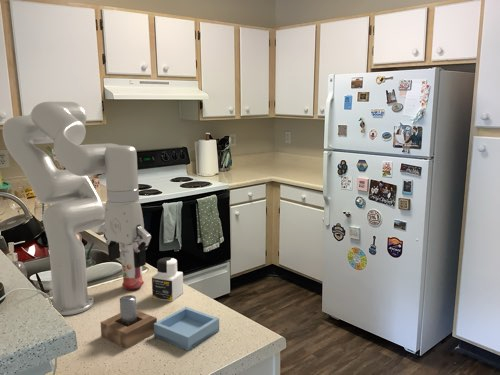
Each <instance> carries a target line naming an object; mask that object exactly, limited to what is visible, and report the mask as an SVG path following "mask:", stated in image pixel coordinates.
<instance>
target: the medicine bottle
mask: <svg viewBox="0 0 500 375" xmlns="http://www.w3.org/2000/svg"><path fill="white" fill-rule="evenodd" d="M156 262H157V263H156V265H157V266H156V267H157V273H156V274H154V275H153V276H151V287H152V288H151V289H152V290H151V291H152V294H151V295H152V299H155V300H161V301H166V302H174V301H175V300H176V299H177V298H178V297H180V296H181V295H183V293H184V273H183V271H178V260H177V259H176V258H174V257H163V258H159V259H158V260H157V261H156Z"/></svg>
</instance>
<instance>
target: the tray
mask: <svg viewBox="0 0 500 375" xmlns="http://www.w3.org/2000/svg"><path fill="white" fill-rule="evenodd" d="M218 332H220V318H218V317H216V316H214V315H210V314H208V313H205V312H203V311H202V312H201V311H199V310H196V309H193V308H190V307H187V306H184V307H182V308H181V309H179V310H177V311H175V312H173V313H172V314H169V315H167V316H166V317H164V318H162V319H160V320H157V322H156V323H154V334H153V337H155V338H157V339H160V340H161V341H162V340H163V341H164V342H167V343H169V344H171V345H174V346H176V347H178V348H181V349H183V350H186V351H187V352H189V351H190V350H192V349H194V348H195V347H197V346H198V345H200V344H201V343H203V342H205V341H206V340H208V339H209V338H210V337H212V336H213V335H215V334H216V333H218Z"/></svg>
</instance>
